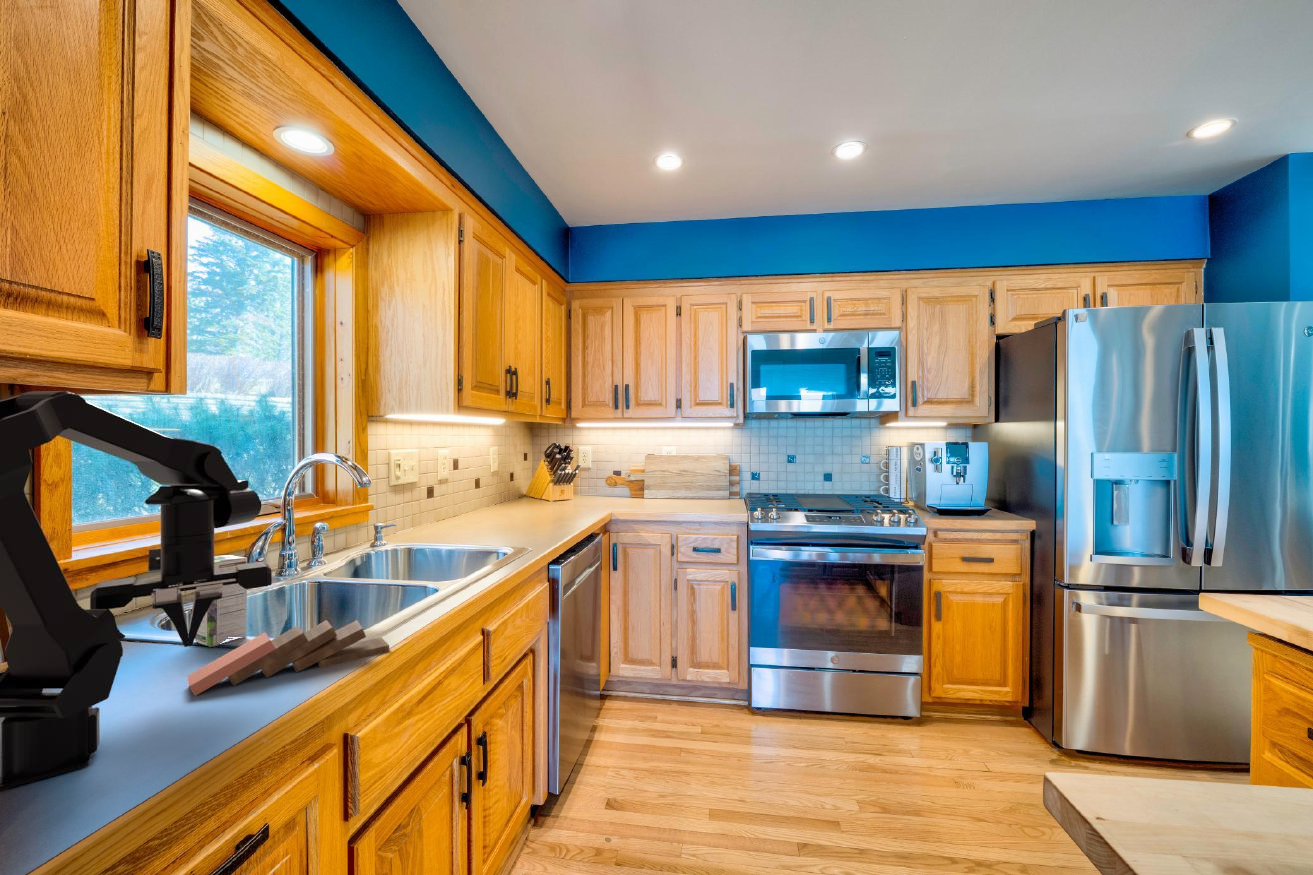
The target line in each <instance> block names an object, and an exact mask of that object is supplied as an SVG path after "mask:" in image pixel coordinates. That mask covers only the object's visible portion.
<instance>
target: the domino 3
mask: <svg viewBox="0 0 1313 875" xmlns="http://www.w3.org/2000/svg"><path fill="white" fill-rule="evenodd" d="M335 631H336V630H335V629H334V628H333V626H332V625H331V624H330V622H329V621H328V620H327V619H325V620H323V621H322V622H320V623H319V624H316V625H315V626H314V627H312V628H310V629H308V630H307V631H305V632H303V633H304V634H305V636H306V638H307V639H308V642H306V643H304V644H303V645H301V646H299V647H298V648H296V649H294V650H293V651H291V652H289V653H288V654H286V655H284V656H283V657H281V658H279V659H278V660H276V661H274V662H273V663H271V664H269V665H268V666H266V667H264V668H263V669H261V670H260V671H261V672H262V673H263V675H264V676H265V678H266V679H268V678H269V677H272V676H273V675H275V674H276V673H278V672H279V671H282V669H284V668H286V667H287V666H289V665H291V664H292V663H293V662H294V661H296V660H298V659H299V658H301V657H303V656H304V655H306V654H308V653H309V652H311V651H313V650H314V649H316V648H317V647H319V646H321V645H322V644H324V643H326V642H327V641H329V640H331V639H332V638H334V637H336V636H337V634H336V633H335Z"/></svg>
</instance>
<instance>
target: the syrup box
mask: <svg viewBox="0 0 1313 875" xmlns="http://www.w3.org/2000/svg"><path fill="white" fill-rule="evenodd" d="M239 564H248V557H243V556H237V555H232V554H227V555H226V554H225V555H222V554H221V555H214V574H215V573H223V572H231V571H236V565H239ZM195 583H197V582H195ZM221 591H222V598H221V599H217V600H214V601H213V602H212V604H211V605H210V607H209V609H208V611H207V612H206V614H205V616H204V618H203V620H202V622H201V625H200V627H199V630H198V632H197V635H196V637H195V640H194V642H195V641H196V642H198V644H200V645H204V646H208V647H209V648H213V647H217V646H219V645H218V644H220V643H222V642H223V641H225V640H226V639H233V638H228V637H244V638H246V637H247V635H248V634H247V633H248V632H247V624H248V620H247V619H248V618H247V617H248V614H247V613H248V609H247V608H248V589H244V588H243V587H241V586H240V585H239V583H238V584H231V585H224V586H223V588H222V589H221ZM196 642H195V643H196ZM220 645H221V644H220Z"/></svg>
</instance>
